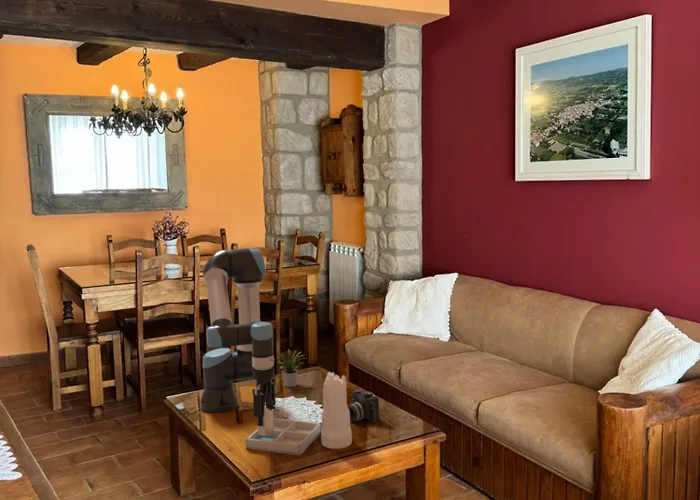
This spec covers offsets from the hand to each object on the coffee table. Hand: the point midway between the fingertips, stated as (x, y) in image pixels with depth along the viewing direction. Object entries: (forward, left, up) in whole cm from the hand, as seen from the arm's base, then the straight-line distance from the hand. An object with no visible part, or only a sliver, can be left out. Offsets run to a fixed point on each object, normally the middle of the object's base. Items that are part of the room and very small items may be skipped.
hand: (265, 430), depth 236 cm
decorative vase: (+23, +8, -5) cm, 25 cm away
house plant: (-17, +60, -5) cm, 63 cm away
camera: (+25, +32, -6) cm, 41 cm away
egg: (0, 0, -1) cm, 1 cm away
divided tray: (+5, +5, -5) cm, 9 cm away
